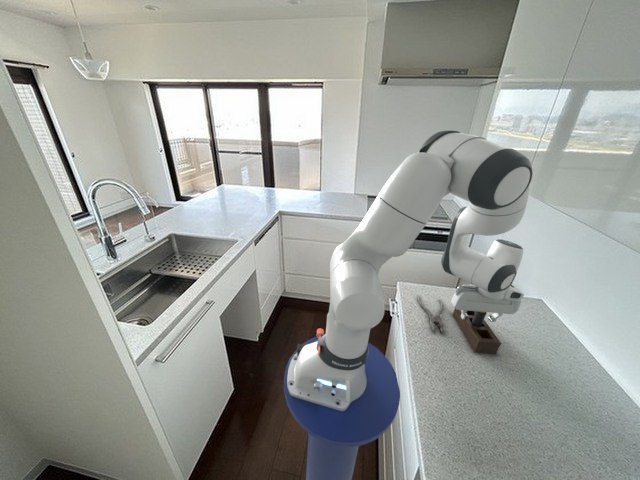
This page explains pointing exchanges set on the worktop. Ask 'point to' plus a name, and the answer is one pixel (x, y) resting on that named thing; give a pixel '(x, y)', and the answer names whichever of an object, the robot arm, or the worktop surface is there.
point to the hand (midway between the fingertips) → (477, 319)
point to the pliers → (434, 318)
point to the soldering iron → (478, 318)
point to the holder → (477, 334)
